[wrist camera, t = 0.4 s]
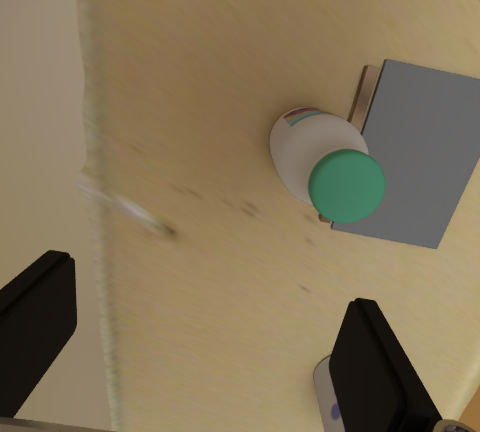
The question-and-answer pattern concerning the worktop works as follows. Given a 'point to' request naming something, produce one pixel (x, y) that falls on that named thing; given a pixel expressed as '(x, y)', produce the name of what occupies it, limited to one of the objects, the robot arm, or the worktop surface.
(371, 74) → the rail
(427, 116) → the mat
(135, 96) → the worktop surface
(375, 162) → the milk bottle
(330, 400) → the container
